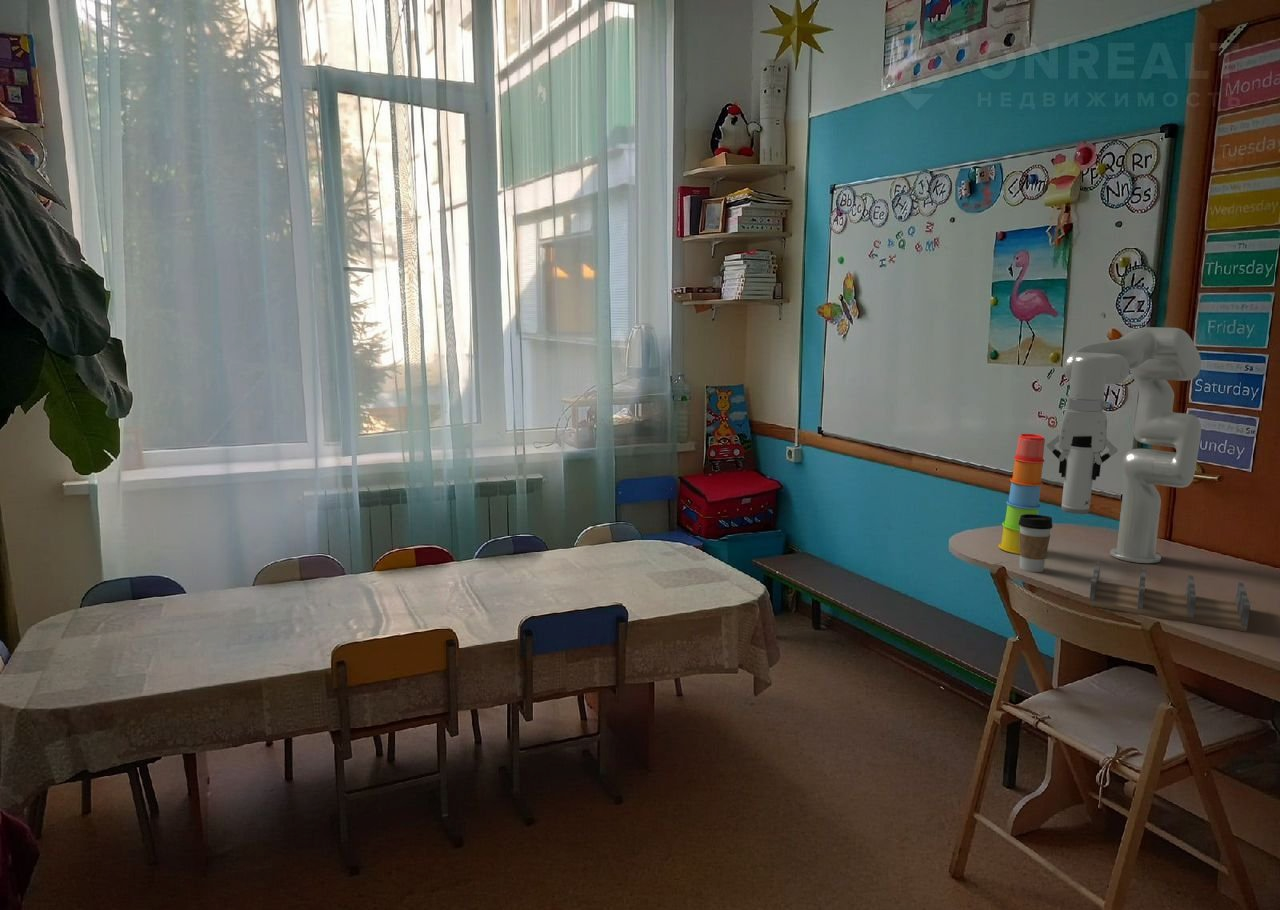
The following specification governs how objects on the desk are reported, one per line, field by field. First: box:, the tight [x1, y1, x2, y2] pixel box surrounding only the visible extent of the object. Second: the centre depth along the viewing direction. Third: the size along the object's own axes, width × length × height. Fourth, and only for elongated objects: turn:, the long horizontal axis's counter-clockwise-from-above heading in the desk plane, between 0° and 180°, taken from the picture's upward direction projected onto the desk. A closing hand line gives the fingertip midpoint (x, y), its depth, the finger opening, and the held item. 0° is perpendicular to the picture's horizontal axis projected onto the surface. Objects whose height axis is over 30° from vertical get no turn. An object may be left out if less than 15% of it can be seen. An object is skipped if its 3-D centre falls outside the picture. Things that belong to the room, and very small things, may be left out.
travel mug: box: [1060, 436, 1096, 515], centre depth 207 cm, size 6×7×20 cm
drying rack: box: [1088, 561, 1251, 633], centre depth 200 cm, size 18×31×6 cm, turn 58°
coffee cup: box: [1019, 514, 1053, 573], centre depth 228 cm, size 8×8×15 cm
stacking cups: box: [998, 433, 1046, 555], centre depth 244 cm, size 10×10×35 cm
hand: (1078, 477), depth 207 cm, fingers closed on travel mug, 6 cm apart
